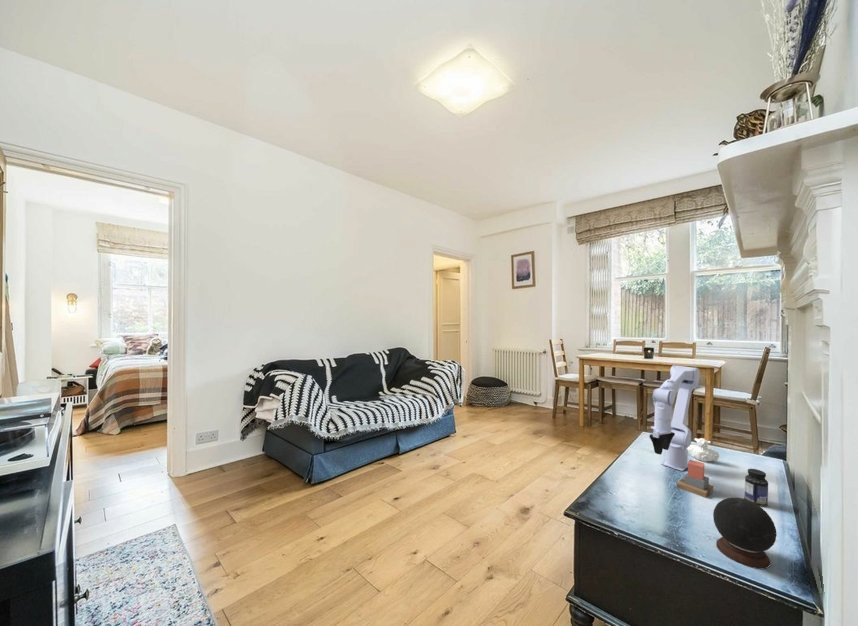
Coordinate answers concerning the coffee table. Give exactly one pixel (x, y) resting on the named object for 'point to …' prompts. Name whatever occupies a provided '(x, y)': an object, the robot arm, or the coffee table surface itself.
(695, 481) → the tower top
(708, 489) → the tower base
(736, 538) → the black and brown oval
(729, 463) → the coffee table surface
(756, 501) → the pill bottle
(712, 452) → the white lumpy piece
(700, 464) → the stack block
